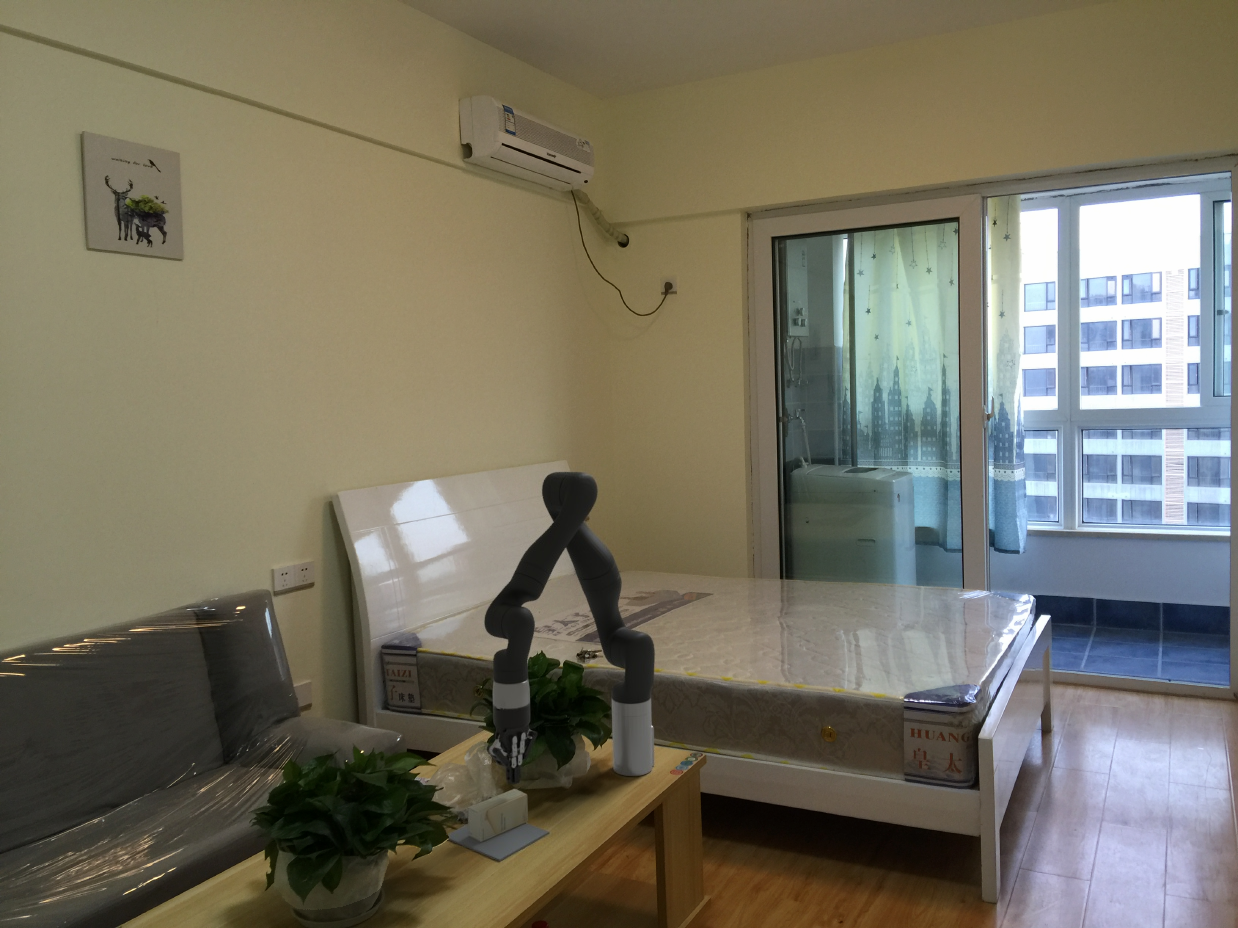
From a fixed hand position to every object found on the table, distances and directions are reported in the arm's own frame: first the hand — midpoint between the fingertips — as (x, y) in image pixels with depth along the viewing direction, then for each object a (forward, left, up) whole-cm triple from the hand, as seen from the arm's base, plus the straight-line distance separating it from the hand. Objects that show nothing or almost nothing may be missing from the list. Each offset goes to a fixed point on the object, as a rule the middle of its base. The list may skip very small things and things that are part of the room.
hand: (513, 782), depth 198 cm
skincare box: (-3, 0, -6) cm, 6 cm away
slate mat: (+5, 0, -9) cm, 11 cm away
